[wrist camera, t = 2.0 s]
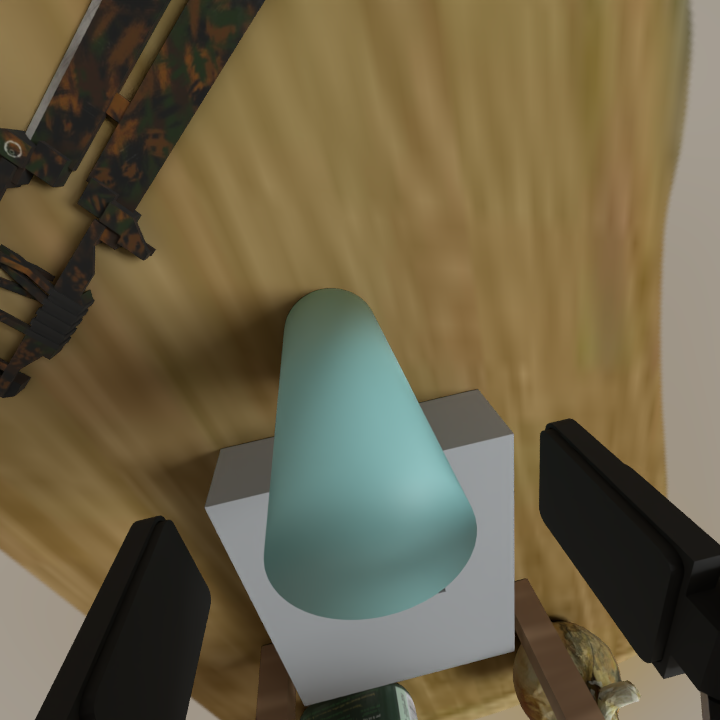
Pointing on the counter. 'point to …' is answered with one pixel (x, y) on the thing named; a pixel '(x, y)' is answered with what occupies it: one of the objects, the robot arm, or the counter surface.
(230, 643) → the counter surface
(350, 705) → the coffee jar
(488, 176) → the counter surface
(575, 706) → the open wooden frame
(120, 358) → the counter surface
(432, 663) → the socket
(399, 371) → the peg
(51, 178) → the knife
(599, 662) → the onion
